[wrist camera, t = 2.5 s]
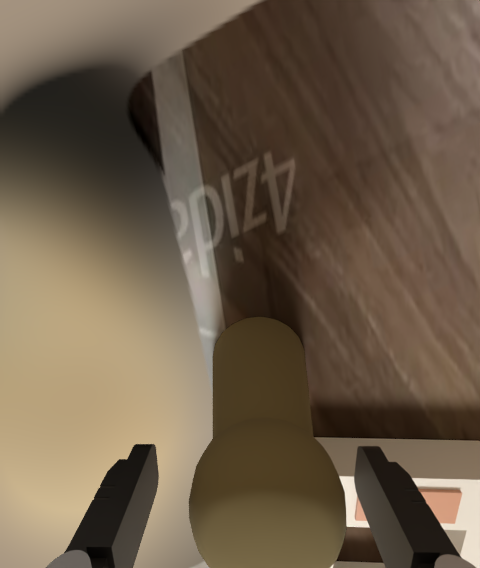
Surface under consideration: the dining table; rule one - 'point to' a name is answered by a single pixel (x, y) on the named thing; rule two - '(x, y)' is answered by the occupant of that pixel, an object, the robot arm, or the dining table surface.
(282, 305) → the dining table surface
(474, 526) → the hole board
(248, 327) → the cork
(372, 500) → the robot arm
